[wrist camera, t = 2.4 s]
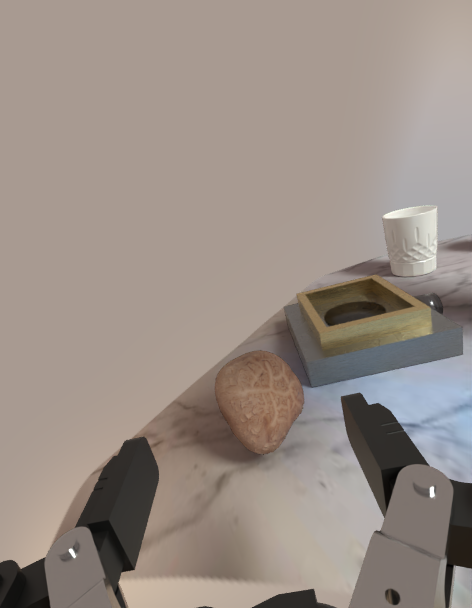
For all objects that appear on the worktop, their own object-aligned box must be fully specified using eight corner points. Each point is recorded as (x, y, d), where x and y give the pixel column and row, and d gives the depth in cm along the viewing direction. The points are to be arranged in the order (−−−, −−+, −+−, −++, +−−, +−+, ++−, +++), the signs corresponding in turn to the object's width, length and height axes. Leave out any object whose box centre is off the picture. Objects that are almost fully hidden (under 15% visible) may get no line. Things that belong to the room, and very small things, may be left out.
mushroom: (292, 402, 32) (275, 330, 29) (334, 439, 26) (317, 354, 23) (223, 439, 29) (197, 364, 27) (252, 488, 24) (223, 400, 21)
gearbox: (393, 291, 49) (390, 260, 48) (484, 349, 32) (483, 302, 30) (284, 317, 51) (278, 288, 49) (311, 387, 33) (302, 344, 31)
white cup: (444, 261, 56) (441, 202, 52) (435, 277, 50) (432, 213, 47) (394, 264, 61) (389, 210, 57) (382, 279, 55) (375, 221, 52)
